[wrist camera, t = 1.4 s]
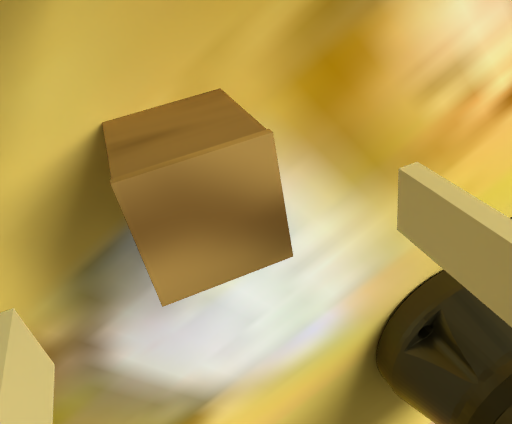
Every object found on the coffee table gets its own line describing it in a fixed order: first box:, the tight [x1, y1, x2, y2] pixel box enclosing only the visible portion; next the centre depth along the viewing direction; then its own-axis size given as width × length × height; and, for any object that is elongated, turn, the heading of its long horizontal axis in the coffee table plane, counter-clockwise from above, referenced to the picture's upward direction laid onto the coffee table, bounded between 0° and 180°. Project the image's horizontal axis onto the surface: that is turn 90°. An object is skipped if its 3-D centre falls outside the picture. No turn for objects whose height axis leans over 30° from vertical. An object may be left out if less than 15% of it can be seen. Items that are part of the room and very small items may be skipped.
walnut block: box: [102, 89, 293, 307], centre depth 20 cm, size 6×6×7 cm
